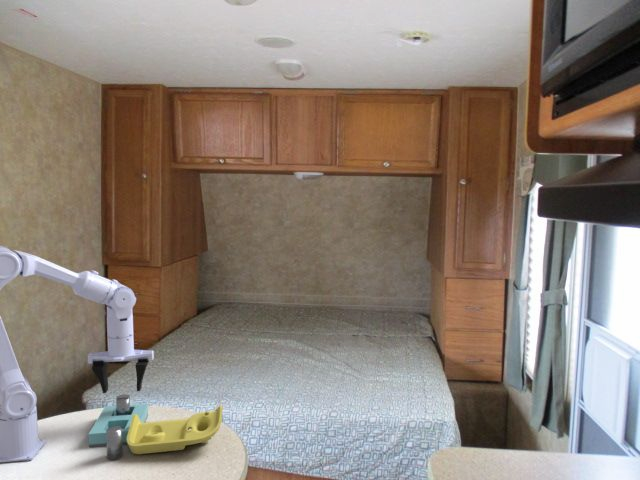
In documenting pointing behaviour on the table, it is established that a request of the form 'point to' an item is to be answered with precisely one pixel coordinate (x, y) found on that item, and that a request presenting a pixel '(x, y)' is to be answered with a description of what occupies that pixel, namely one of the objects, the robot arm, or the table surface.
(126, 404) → the peg
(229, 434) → the table surface
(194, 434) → the plastic component
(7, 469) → the table surface
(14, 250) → the robot arm
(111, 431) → the peg
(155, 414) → the table surface
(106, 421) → the housing
